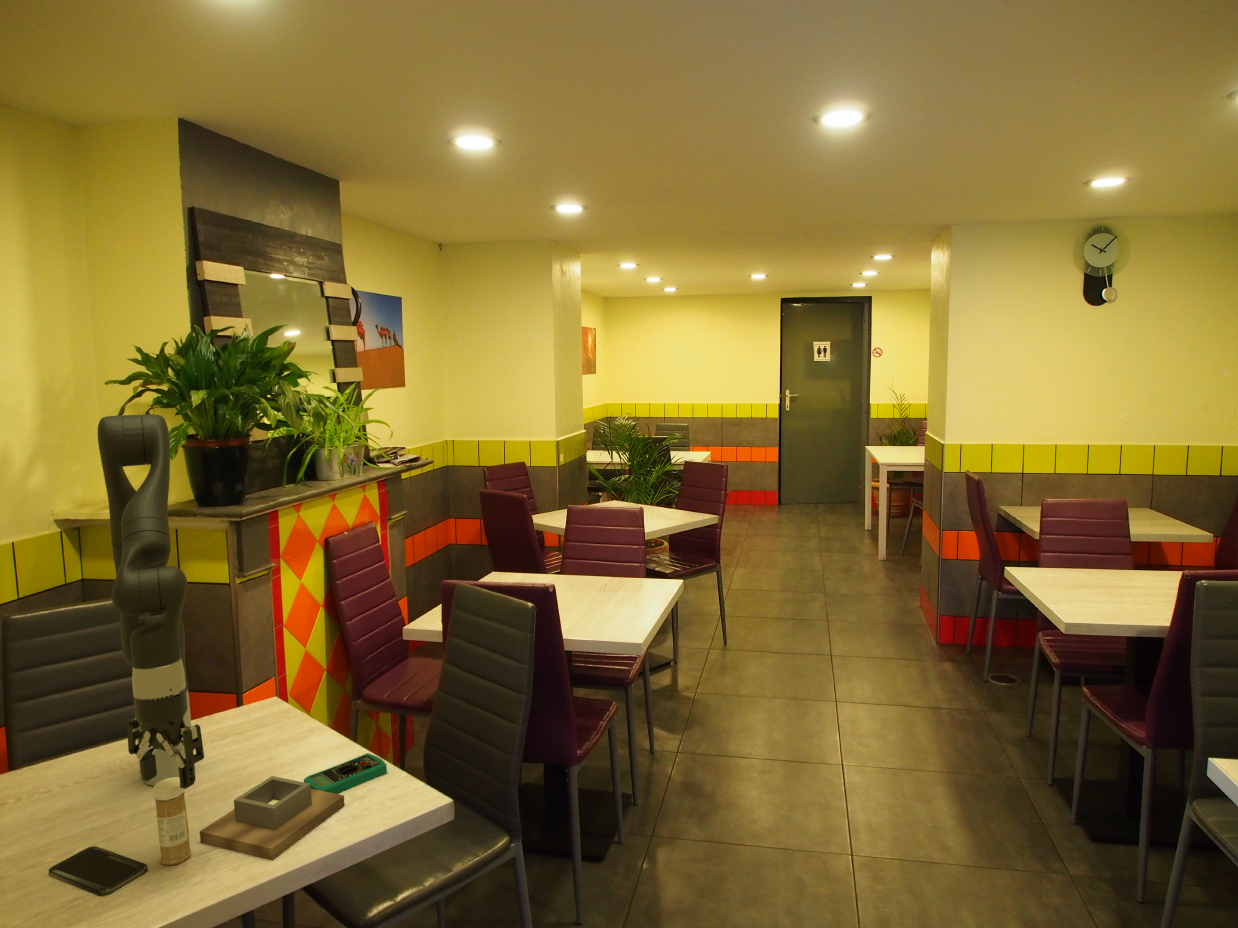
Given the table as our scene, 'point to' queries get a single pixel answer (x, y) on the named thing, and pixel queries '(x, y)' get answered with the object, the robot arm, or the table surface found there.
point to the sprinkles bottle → (172, 821)
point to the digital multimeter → (348, 774)
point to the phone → (98, 870)
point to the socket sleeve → (269, 816)
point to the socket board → (267, 840)
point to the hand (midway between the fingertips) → (168, 782)
